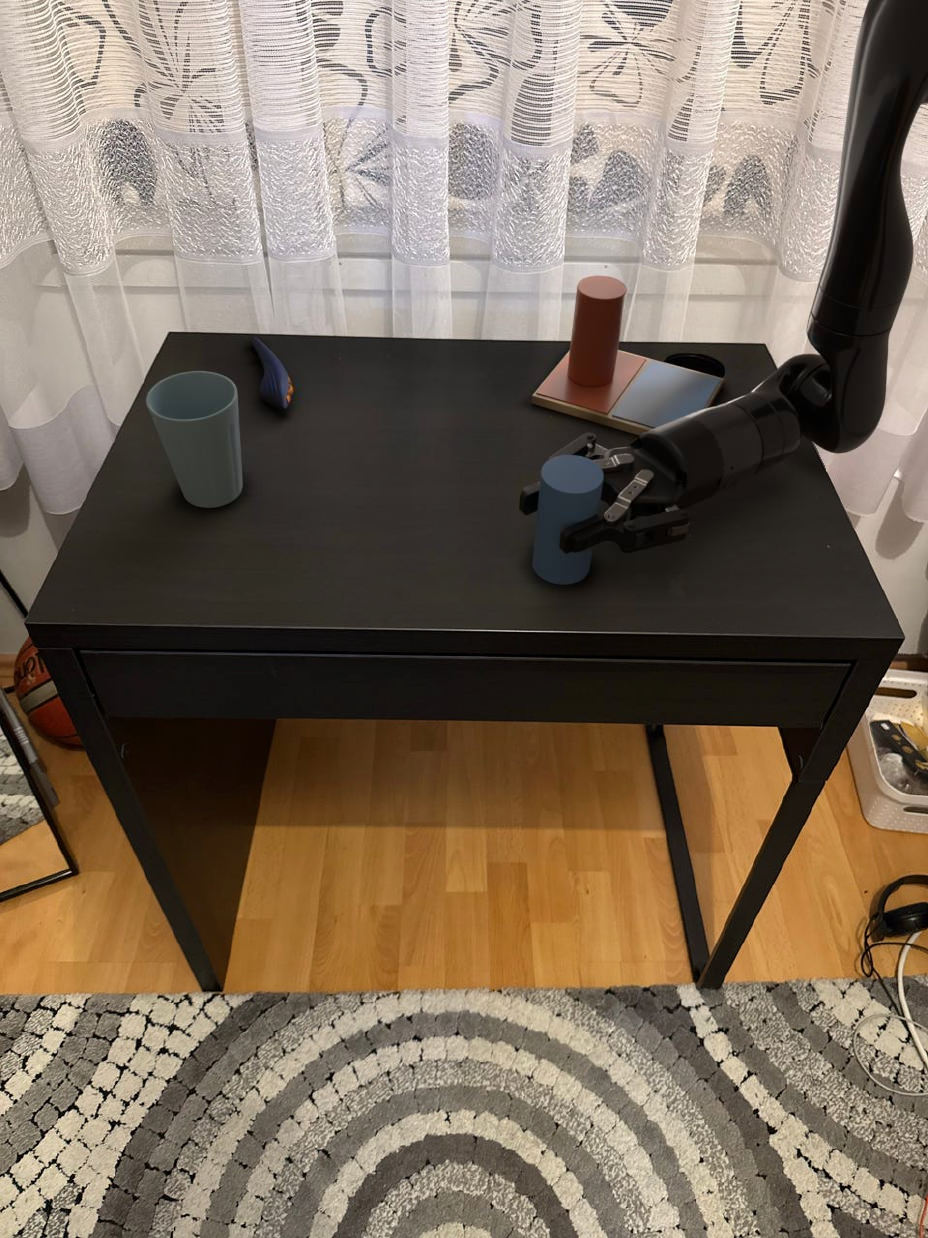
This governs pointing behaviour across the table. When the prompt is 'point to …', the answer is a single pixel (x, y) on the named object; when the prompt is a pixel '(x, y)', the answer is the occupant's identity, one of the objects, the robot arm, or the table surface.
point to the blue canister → (565, 515)
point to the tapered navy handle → (273, 377)
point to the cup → (200, 434)
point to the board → (631, 394)
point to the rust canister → (596, 330)
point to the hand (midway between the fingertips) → (542, 523)
